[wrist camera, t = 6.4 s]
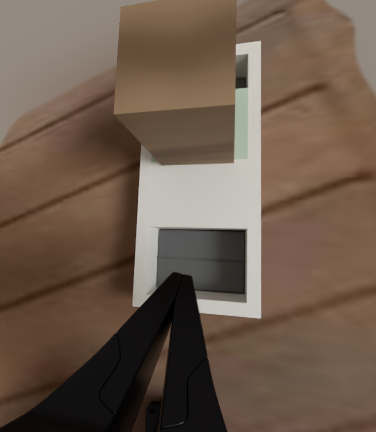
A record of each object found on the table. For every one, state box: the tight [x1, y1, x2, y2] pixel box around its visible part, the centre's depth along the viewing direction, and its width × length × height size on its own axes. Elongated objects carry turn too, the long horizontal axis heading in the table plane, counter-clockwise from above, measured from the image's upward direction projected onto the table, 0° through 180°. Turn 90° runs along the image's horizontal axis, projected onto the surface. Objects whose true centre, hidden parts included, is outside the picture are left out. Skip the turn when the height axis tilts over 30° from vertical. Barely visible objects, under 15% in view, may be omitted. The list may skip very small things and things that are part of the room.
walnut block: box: [114, 0, 236, 166], centre depth 15 cm, size 6×6×8 cm
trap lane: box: [132, 41, 261, 318], centre depth 20 cm, size 22×10×3 cm, turn 179°
